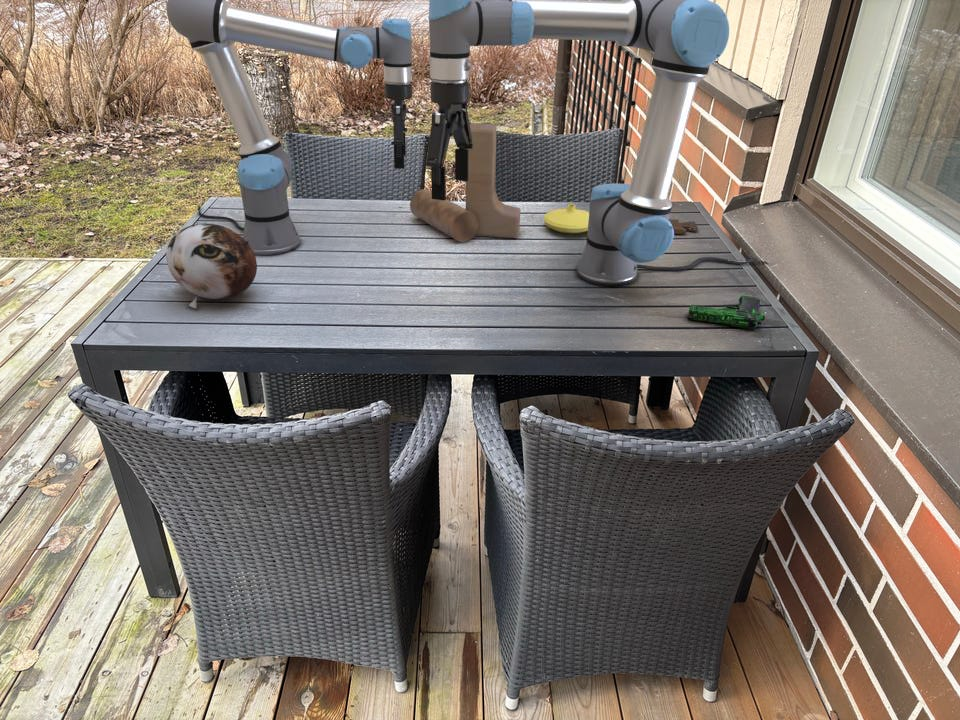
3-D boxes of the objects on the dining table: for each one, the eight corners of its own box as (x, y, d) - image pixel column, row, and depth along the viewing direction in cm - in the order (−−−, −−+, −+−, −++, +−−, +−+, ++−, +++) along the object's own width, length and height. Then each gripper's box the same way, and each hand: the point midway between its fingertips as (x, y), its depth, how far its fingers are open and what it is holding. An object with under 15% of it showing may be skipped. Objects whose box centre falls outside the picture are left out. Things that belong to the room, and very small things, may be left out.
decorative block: (517, 239, 203) (521, 131, 188) (465, 235, 205) (465, 128, 189) (519, 230, 209) (524, 124, 194) (469, 226, 211) (469, 122, 196)
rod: (404, 206, 213) (422, 183, 213) (422, 223, 219) (440, 200, 219) (446, 230, 196) (466, 205, 196) (465, 248, 202) (483, 223, 202)
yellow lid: (559, 216, 220) (561, 193, 217) (605, 227, 212) (608, 204, 209) (532, 230, 209) (533, 207, 206) (580, 242, 201) (582, 218, 198)
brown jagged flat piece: (700, 236, 208) (693, 224, 217) (701, 230, 207) (694, 219, 216) (612, 233, 208) (607, 221, 217) (613, 227, 207) (608, 216, 216)
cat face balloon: (130, 285, 161) (164, 203, 163) (192, 308, 177) (221, 233, 178) (195, 307, 151) (229, 220, 152) (254, 330, 166) (285, 250, 168)
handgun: (768, 297, 166) (764, 322, 154) (765, 309, 168) (761, 335, 156) (697, 286, 172) (687, 310, 159) (695, 297, 173) (685, 322, 161)
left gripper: (411, 91, 182) (412, 174, 192) (413, 75, 203) (414, 150, 214) (381, 90, 181) (384, 174, 192) (386, 74, 202) (389, 150, 213)
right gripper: (445, 93, 125) (446, 210, 136) (488, 71, 146) (486, 174, 156) (405, 90, 127) (410, 205, 138) (453, 69, 148) (454, 171, 158)
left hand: (400, 161), depth 203 cm, fingers open, 13 cm apart
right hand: (450, 189), depth 147 cm, fingers open, 13 cm apart
